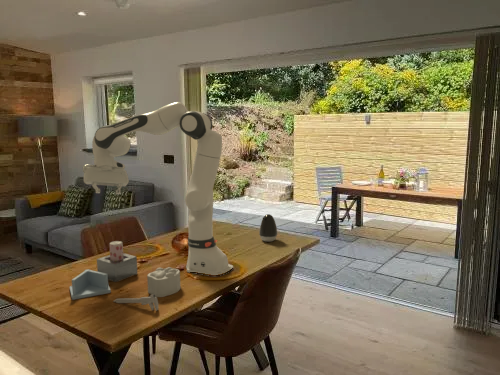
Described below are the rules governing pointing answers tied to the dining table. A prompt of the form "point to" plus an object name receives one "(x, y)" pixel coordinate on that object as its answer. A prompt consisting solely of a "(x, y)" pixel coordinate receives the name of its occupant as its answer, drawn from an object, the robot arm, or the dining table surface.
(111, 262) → the pocket block
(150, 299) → the caliper
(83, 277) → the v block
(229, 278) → the dining table surface
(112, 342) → the dining table surface
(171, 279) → the lumpy-topped squat cylinder
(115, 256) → the beverage can
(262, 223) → the dark grey egg shape
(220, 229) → the dining table surface
